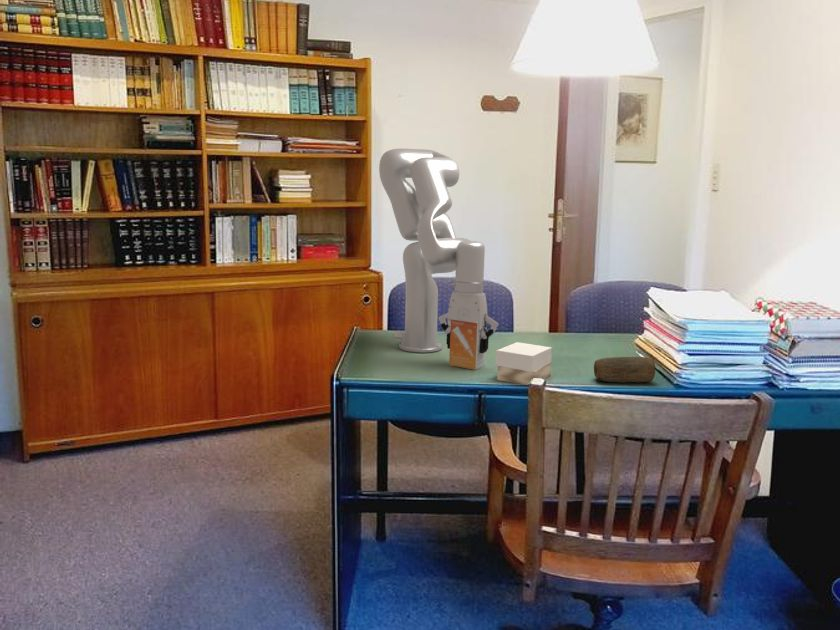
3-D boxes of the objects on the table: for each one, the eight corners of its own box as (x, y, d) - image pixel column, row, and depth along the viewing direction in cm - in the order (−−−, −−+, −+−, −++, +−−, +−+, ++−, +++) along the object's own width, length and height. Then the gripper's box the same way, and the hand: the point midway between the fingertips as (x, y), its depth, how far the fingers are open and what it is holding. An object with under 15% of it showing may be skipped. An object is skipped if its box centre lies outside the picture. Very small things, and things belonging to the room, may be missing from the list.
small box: (448, 366, 210) (450, 318, 207) (458, 361, 215) (460, 315, 213) (475, 370, 206) (477, 322, 204) (485, 365, 211) (487, 318, 209)
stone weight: (646, 378, 202) (648, 353, 201) (656, 385, 196) (658, 360, 194) (590, 378, 201) (591, 353, 200) (598, 385, 194) (600, 359, 193)
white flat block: (495, 365, 197) (496, 350, 196) (516, 356, 207) (517, 342, 206) (531, 371, 192) (532, 356, 191) (551, 362, 202) (552, 347, 201)
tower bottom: (497, 381, 197) (497, 366, 197) (514, 371, 208) (515, 356, 207) (534, 387, 193) (535, 371, 192) (550, 376, 203) (551, 361, 202)
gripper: (433, 286, 207) (432, 348, 211) (493, 292, 200) (491, 357, 203) (446, 283, 214) (444, 343, 217) (504, 288, 206) (501, 351, 209)
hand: (466, 350), depth 210 cm, fingers open, 9 cm apart
